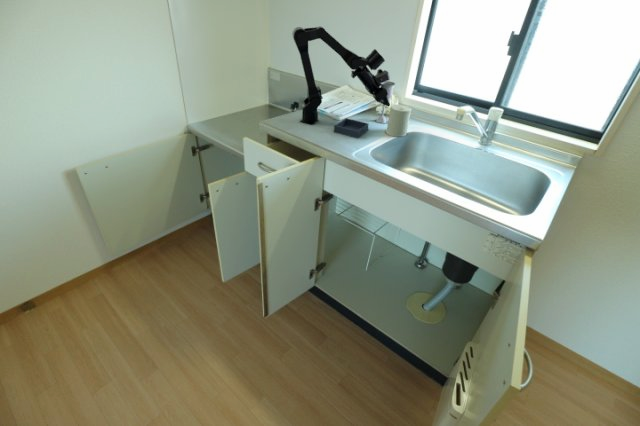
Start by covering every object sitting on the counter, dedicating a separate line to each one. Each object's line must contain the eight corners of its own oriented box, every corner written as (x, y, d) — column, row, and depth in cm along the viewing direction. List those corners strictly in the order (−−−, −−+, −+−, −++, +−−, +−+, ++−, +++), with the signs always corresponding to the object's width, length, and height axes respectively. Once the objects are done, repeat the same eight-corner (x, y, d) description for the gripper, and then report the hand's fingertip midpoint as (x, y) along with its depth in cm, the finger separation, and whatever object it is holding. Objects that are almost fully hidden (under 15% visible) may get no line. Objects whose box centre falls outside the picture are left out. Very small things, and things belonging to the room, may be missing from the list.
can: (387, 136, 145) (392, 109, 138) (384, 128, 153) (388, 102, 146) (408, 137, 145) (414, 110, 138) (403, 129, 153) (409, 103, 146)
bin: (333, 131, 146) (334, 125, 144) (345, 124, 154) (345, 118, 153) (357, 138, 142) (358, 131, 140) (367, 129, 150) (368, 123, 148)
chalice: (389, 124, 157) (396, 85, 147) (375, 123, 157) (381, 84, 147) (387, 119, 163) (393, 81, 153) (373, 118, 163) (379, 80, 153)
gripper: (387, 69, 137) (406, 96, 145) (375, 60, 152) (393, 84, 160) (366, 88, 141) (387, 113, 149) (356, 77, 155) (375, 101, 164)
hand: (386, 102), depth 155 cm, fingers open, 9 cm apart
